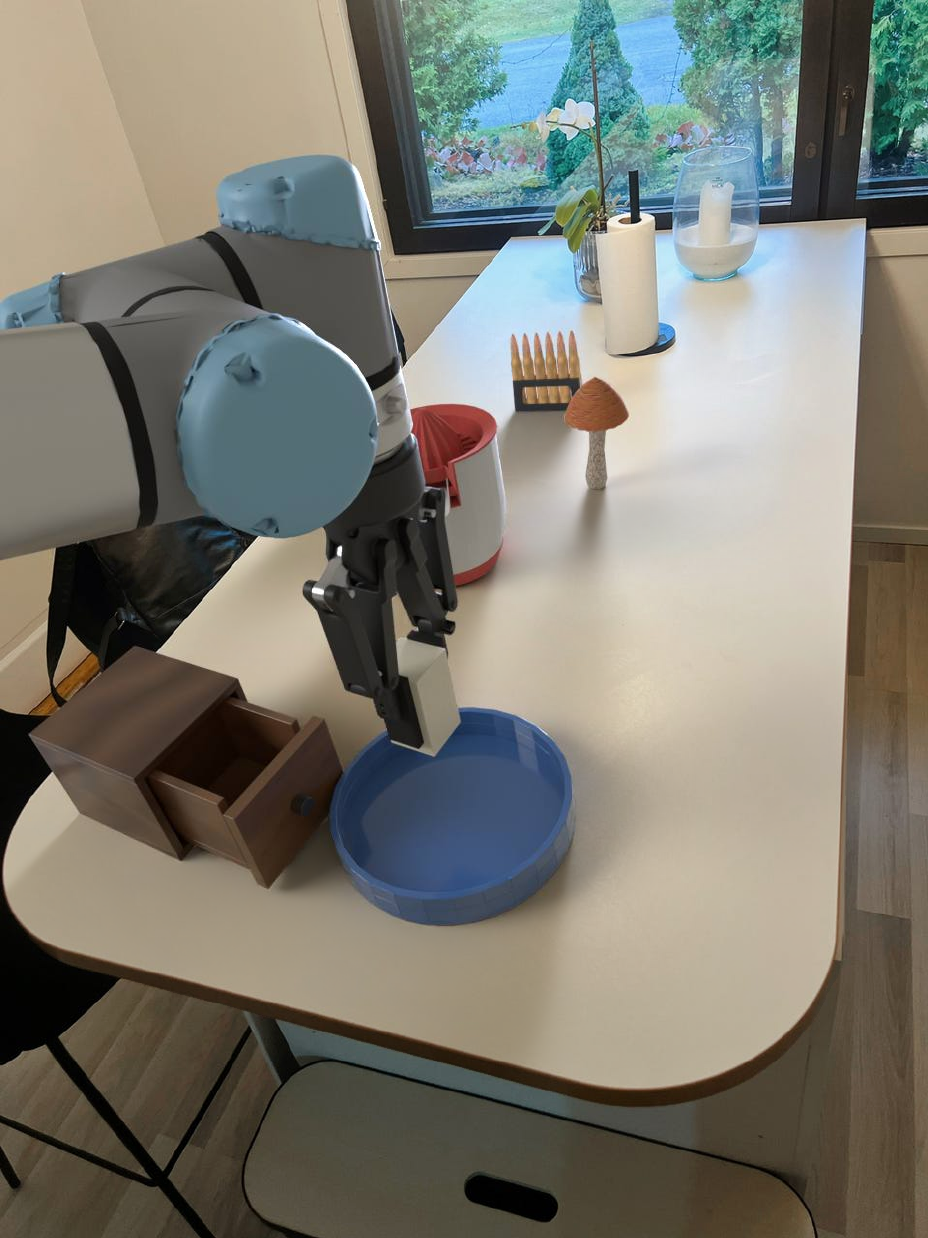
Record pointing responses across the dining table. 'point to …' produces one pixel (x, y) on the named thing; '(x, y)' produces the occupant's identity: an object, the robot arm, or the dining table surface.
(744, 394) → the dining table surface
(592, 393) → the mushroom
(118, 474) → the robot arm
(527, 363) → the ammunition clip
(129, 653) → the cabinet
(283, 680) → the dining table surface
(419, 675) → the block
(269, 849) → the drawer
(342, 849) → the bowl
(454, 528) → the citrus juicer
